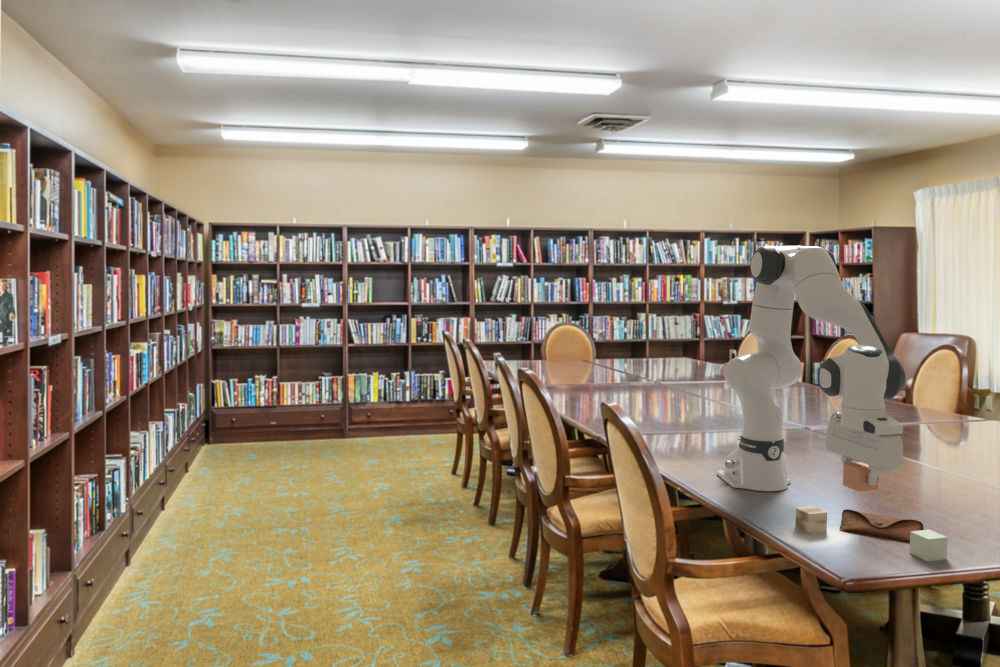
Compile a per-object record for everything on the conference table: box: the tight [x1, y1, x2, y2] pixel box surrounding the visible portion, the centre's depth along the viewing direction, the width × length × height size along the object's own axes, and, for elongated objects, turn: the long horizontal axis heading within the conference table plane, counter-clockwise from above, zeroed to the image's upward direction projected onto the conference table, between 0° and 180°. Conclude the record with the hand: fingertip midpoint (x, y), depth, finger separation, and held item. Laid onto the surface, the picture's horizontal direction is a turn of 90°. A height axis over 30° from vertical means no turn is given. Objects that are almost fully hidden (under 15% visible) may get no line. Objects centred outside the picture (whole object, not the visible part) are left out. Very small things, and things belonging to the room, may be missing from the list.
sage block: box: [909, 529, 948, 562], centre depth 162 cm, size 5×5×5 cm
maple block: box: [794, 505, 828, 535], centre depth 179 cm, size 5×5×5 cm
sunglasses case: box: [838, 509, 925, 544], centre depth 178 cm, size 18×7×7 cm, turn 58°
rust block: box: [842, 461, 879, 493], centre depth 165 cm, size 5×5×5 cm
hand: (860, 480), depth 165 cm, fingers closed on rust block, 5 cm apart
